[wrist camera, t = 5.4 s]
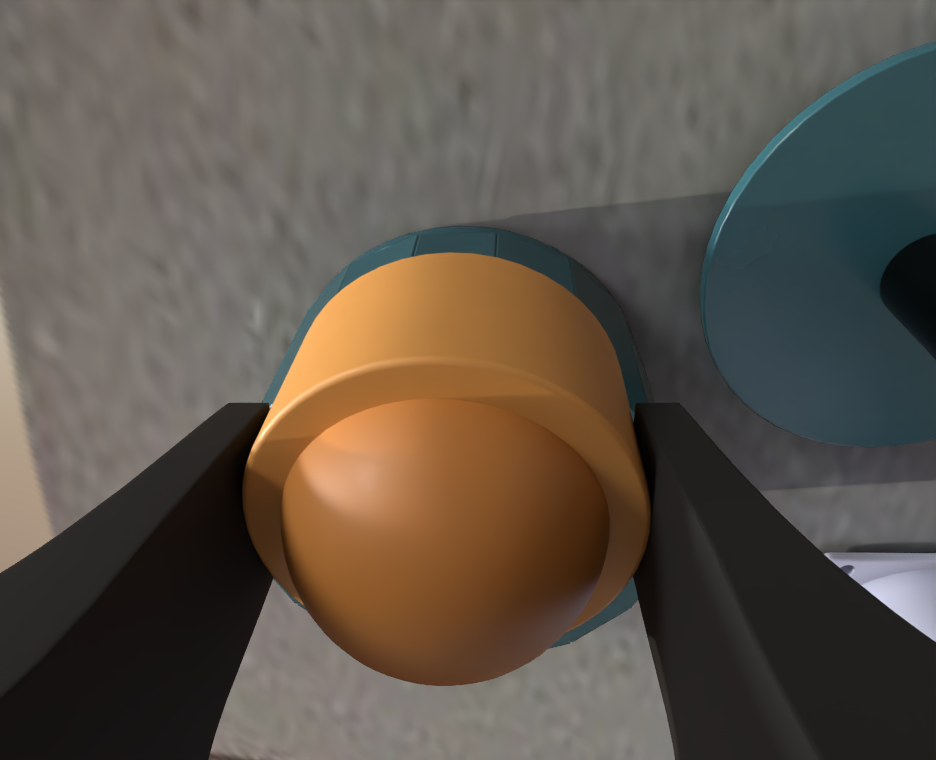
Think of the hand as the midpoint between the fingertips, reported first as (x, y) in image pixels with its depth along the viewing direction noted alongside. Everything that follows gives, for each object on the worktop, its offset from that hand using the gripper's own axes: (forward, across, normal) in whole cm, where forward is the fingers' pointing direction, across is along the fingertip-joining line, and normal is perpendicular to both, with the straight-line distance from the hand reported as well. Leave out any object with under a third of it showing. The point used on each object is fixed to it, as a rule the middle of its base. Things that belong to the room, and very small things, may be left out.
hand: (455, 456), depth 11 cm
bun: (+1, 0, 0) cm, 1 cm away
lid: (+9, -11, +1) cm, 15 cm away
